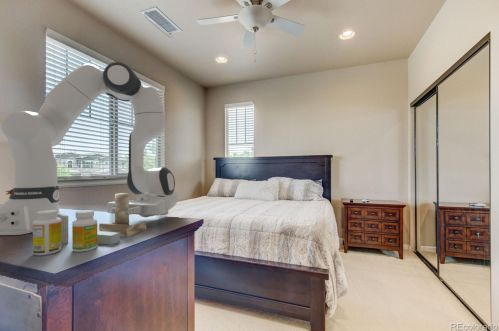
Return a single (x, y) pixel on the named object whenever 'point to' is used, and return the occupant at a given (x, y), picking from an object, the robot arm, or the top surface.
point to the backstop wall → (107, 237)
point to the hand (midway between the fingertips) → (119, 211)
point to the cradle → (122, 228)
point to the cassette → (64, 227)
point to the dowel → (121, 208)
